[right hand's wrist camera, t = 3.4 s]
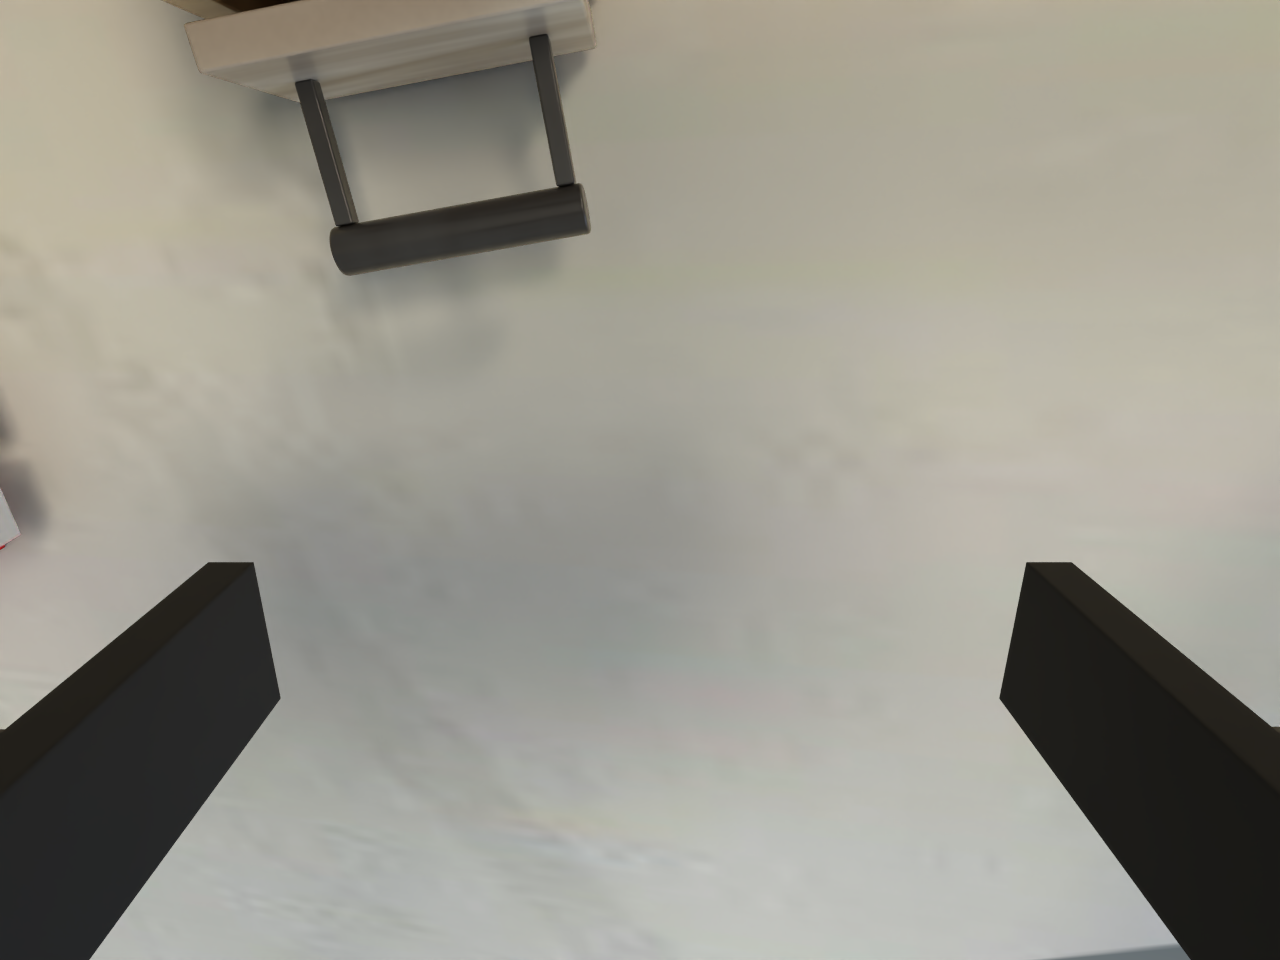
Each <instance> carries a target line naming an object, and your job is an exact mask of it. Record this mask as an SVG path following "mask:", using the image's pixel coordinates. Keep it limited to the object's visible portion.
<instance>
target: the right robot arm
mask: <svg viewBox="0 0 1280 960" xmlns="http://www.w3.org/2000/svg"><path fill="white" fill-rule="evenodd" d="M280 699H281V698H280V693H279V688H278V683H277V678H276V673H275V668H274V663H273V658H272V653H271V648H270V643H269V638H268V633H267V628H266V623H265V618H264V613H263V607H262V602H261V597H260V592H259V587H258V582H257V577H256V572H255V567H254V562H208V563H207V564H206V565H205V566H203V567H202V568H201V569H200V570H199V571H197V572H196V573H195V574H194V575H192V576H191V577H190V578H189V579H188V580H186V581H185V582H184V583H183V584H182V585H180V586H179V587H178V588H177V589H175V590H174V591H173V592H172V593H171V594H169V595H168V596H167V597H166V598H165V599H163V600H162V601H161V602H160V603H158V604H157V605H156V606H155V607H154V608H152V609H151V610H150V611H149V612H147V613H146V614H145V615H144V616H143V617H141V618H140V619H139V620H138V621H137V622H135V623H134V624H133V625H132V626H130V627H129V628H128V629H127V630H126V631H124V632H123V633H122V634H121V635H120V636H118V637H117V638H116V639H115V640H113V641H112V642H111V643H110V644H109V645H107V646H106V647H105V648H104V649H102V650H101V651H100V652H99V653H98V654H96V655H95V656H94V657H93V658H92V659H90V660H89V661H88V662H87V663H85V664H84V665H83V666H82V667H81V668H79V669H78V670H77V671H76V672H75V673H73V674H72V675H71V676H70V677H68V678H67V679H66V680H65V681H64V682H62V683H61V684H60V685H59V686H57V687H56V688H55V689H54V690H53V691H51V692H50V693H49V694H48V695H47V696H45V697H44V698H43V699H42V700H40V701H39V702H38V703H37V704H36V705H34V706H33V707H32V708H31V709H30V710H28V711H27V712H26V713H25V714H23V715H22V716H21V717H20V718H19V719H17V720H16V721H15V722H14V723H12V724H11V725H10V726H9V727H8V728H6V729H0V960H89V959H90V958H91V957H92V955H93V954H94V953H95V951H96V950H97V948H98V947H99V946H100V944H101V943H102V942H103V940H104V939H105V938H106V936H107V935H108V933H109V932H110V931H111V929H112V928H113V927H114V925H115V924H116V922H117V921H118V920H119V918H120V917H121V916H122V914H123V913H124V912H125V910H126V909H127V907H128V906H129V905H130V903H131V902H132V901H133V899H134V898H135V897H136V895H137V894H138V892H139V891H140V890H141V888H142V887H143V886H144V884H145V883H146V882H147V880H148V879H149V877H150V876H151V875H152V873H153V872H154V871H155V869H156V868H157V866H158V865H159V864H160V862H161V861H162V860H163V858H164V857H165V856H166V854H167V853H168V851H169V850H170V849H171V847H172V846H173V845H174V843H175V842H176V841H177V839H178V838H179V836H180V835H181V834H182V832H183V831H184V830H185V828H186V827H187V826H188V824H189V823H190V821H191V820H192V819H193V817H194V816H195V815H196V813H197V812H198V810H199V809H200V808H201V806H202V805H203V804H204V802H205V801H206V800H207V798H208V797H209V795H210V794H211V793H212V791H213V790H214V789H215V787H216V786H217V785H218V783H219V782H220V780H221V779H222V778H223V776H224V775H225V774H226V772H227V771H228V770H229V768H230V767H231V765H232V764H233V763H234V761H235V760H236V759H237V757H238V756H239V754H240V753H241V752H242V750H243V749H244V748H245V746H246V745H247V744H248V742H249V741H250V739H251V738H252V737H253V735H254V734H255V733H256V731H257V730H258V729H259V727H260V726H261V724H262V723H263V722H264V720H265V719H266V718H267V716H268V715H269V714H270V712H271V711H272V709H273V708H274V707H275V705H276V704H277V703H278V701H279V700H280ZM999 699H1000V700H1001V701H1002V703H1003V704H1004V705H1005V707H1006V708H1007V709H1008V711H1009V712H1010V714H1011V715H1012V716H1013V718H1014V719H1015V720H1016V722H1017V723H1018V724H1019V726H1020V727H1021V729H1022V730H1023V731H1024V733H1025V734H1026V735H1027V737H1028V738H1029V739H1030V741H1031V742H1032V744H1033V745H1034V746H1035V748H1036V749H1037V750H1038V752H1039V753H1040V755H1041V756H1042V757H1043V759H1044V760H1045V761H1046V763H1047V764H1048V765H1049V767H1050V768H1051V770H1052V771H1053V772H1054V774H1055V775H1056V776H1057V778H1058V779H1059V780H1060V782H1061V783H1062V785H1063V786H1064V787H1065V789H1066V790H1067V791H1068V793H1069V794H1070V795H1071V797H1072V798H1073V800H1074V801H1075V802H1076V804H1077V805H1078V806H1079V808H1080V809H1081V810H1082V812H1083V813H1084V815H1085V816H1086V817H1087V819H1088V820H1089V821H1090V823H1091V824H1092V826H1093V827H1094V828H1095V830H1096V831H1097V832H1098V834H1099V835H1100V836H1101V838H1102V839H1103V841H1104V842H1105V843H1106V845H1107V846H1108V847H1109V849H1110V850H1111V851H1112V853H1113V854H1114V856H1115V857H1116V858H1117V860H1118V861H1119V862H1120V864H1121V865H1122V866H1123V868H1124V869H1125V871H1126V872H1127V873H1128V875H1129V876H1130V877H1131V879H1132V880H1133V882H1134V883H1135V884H1136V886H1137V887H1138V888H1139V890H1140V891H1141V892H1142V894H1143V895H1144V897H1145V898H1146V899H1147V901H1148V902H1149V903H1150V905H1151V906H1152V907H1153V909H1154V910H1155V912H1156V913H1157V914H1158V916H1159V917H1160V918H1161V920H1162V921H1163V922H1164V924H1165V925H1166V927H1167V928H1168V929H1169V931H1170V932H1171V933H1172V935H1173V936H1174V938H1175V939H1176V940H1177V942H1178V943H1179V944H1180V946H1181V947H1182V948H1183V950H1184V951H1185V952H1186V954H1187V955H1188V957H1189V958H1190V959H1191V960H1280V727H1271V726H1270V725H1269V724H1268V723H1266V722H1265V721H1264V720H1263V719H1261V718H1260V717H1259V716H1258V715H1257V714H1255V713H1254V712H1253V711H1252V710H1250V709H1249V708H1248V707H1247V706H1246V705H1244V704H1243V703H1242V702H1241V701H1240V700H1238V699H1237V698H1236V697H1235V696H1233V695H1232V694H1231V693H1230V692H1229V691H1227V690H1226V689H1225V688H1224V687H1223V686H1221V685H1220V684H1219V683H1218V682H1216V681H1215V680H1214V679H1213V678H1212V677H1210V676H1209V675H1208V674H1207V673H1205V672H1204V671H1203V670H1202V669H1201V668H1199V667H1198V666H1197V665H1196V664H1195V663H1193V662H1192V661H1191V660H1190V659H1188V658H1187V657H1186V656H1185V655H1184V654H1182V653H1181V652H1180V651H1179V650H1178V649H1176V648H1175V647H1174V646H1173V645H1171V644H1170V643H1169V642H1168V641H1167V640H1165V639H1164V638H1163V637H1162V636H1160V635H1159V634H1158V633H1157V632H1156V631H1154V630H1153V629H1152V628H1151V627H1150V626H1148V625H1147V624H1146V623H1145V622H1143V621H1142V620H1141V619H1140V618H1139V617H1137V616H1136V615H1135V614H1134V613H1133V612H1131V611H1130V610H1129V609H1128V608H1126V607H1125V606H1124V605H1123V604H1122V603H1120V602H1119V601H1118V600H1117V599H1115V598H1114V597H1113V596H1112V595H1111V594H1109V593H1108V592H1107V591H1106V590H1105V589H1103V588H1102V587H1101V586H1100V585H1098V584H1097V583H1096V582H1095V581H1094V580H1092V579H1091V578H1090V577H1089V576H1088V575H1086V574H1085V573H1084V572H1083V571H1081V570H1080V569H1079V568H1078V567H1077V566H1075V565H1074V564H1073V563H1072V562H1026V567H1025V572H1024V577H1023V582H1022V587H1021V592H1020V597H1019V602H1018V607H1017V613H1016V618H1015V623H1014V628H1013V633H1012V638H1011V643H1010V648H1009V653H1008V658H1007V663H1006V668H1005V673H1004V678H1003V683H1002V688H1001V693H1000V698H999Z"/></svg>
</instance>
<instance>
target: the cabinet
mask: <svg viewBox="0 0 1280 960" xmlns="http://www.w3.org/2000/svg"><path fill="white" fill-rule="evenodd" d="M162 1H164V2H167V3H169V4H171V5H174V6H176V7H178V8H181V9H183V10H185V11H188V12H190V13H192V14H195V15H197V16H199V17H202V18H204V19H209V18H214V17H219V16H224V15H229V14H234V13H239V12H244V11H249V10H254V9H259V8H264V7H269V6H274V5H279V4H284V3H289V2H294V1H293V0H162Z"/></svg>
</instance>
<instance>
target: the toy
mask: <svg viewBox="0 0 1280 960" xmlns="http://www.w3.org/2000/svg"><path fill="white" fill-rule="evenodd" d="M20 535H21V533H20V531H19V529H18V527H17V524H16V522H15V520H14V518H13V515H12V513H11V511H10V508H9V506H8V504H7V502H6V499H5V497H4V495H3V493H2V490H1V488H0V550H1V549H2V548H4V547H5V544H6V543H8V542H10V541H11V540H13V539H15V538H16V537H18V536H20Z"/></svg>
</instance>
